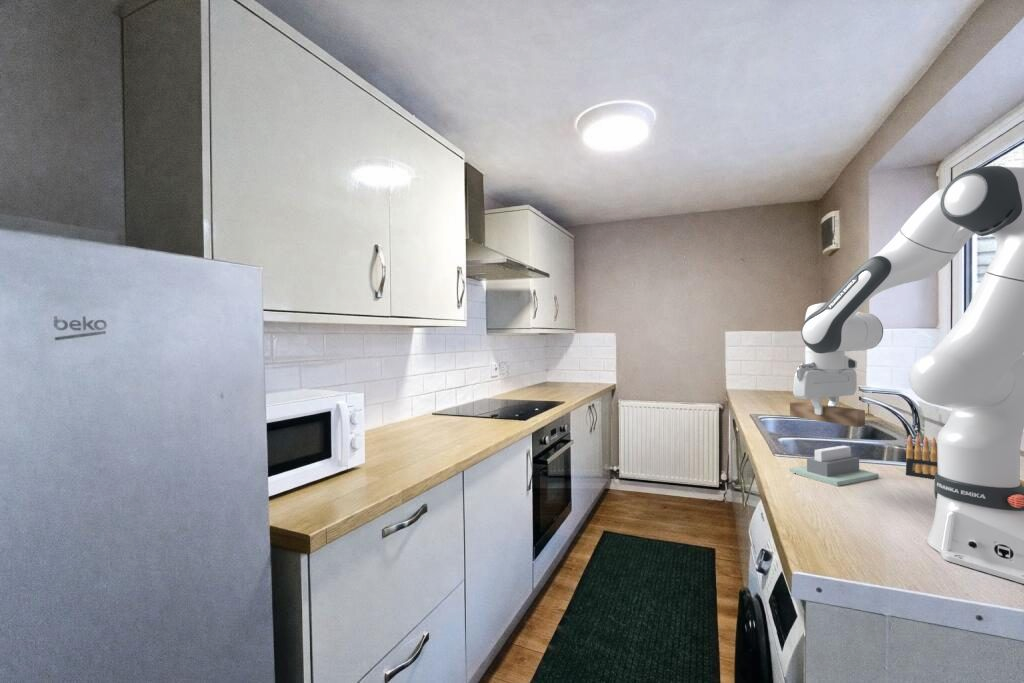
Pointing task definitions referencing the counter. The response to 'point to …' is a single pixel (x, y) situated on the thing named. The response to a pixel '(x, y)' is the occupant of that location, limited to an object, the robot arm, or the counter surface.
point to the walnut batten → (829, 414)
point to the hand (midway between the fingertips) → (825, 413)
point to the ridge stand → (834, 467)
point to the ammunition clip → (921, 458)
